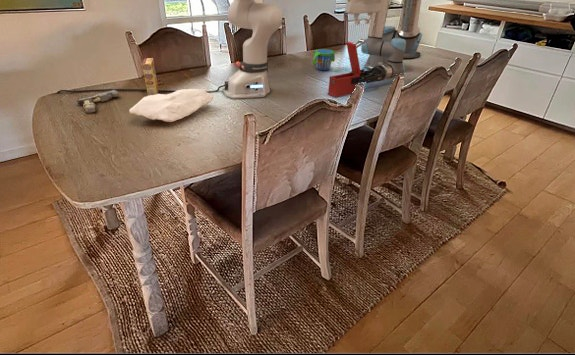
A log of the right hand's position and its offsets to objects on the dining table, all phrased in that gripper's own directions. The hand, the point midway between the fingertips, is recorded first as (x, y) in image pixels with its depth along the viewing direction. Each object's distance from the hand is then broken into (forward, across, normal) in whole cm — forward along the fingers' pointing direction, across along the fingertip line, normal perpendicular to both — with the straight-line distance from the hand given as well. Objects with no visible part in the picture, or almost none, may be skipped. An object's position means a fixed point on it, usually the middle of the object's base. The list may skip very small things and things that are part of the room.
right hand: (347, 79), depth 176 cm
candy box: (+81, +42, -6) cm, 92 cm away
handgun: (+104, +42, -6) cm, 112 cm away
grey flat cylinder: (-85, +44, -6) cm, 96 cm away
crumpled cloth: (+82, +16, -6) cm, 84 cm away
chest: (+2, 0, -6) cm, 7 cm away
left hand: (-5, 0, +25) cm, 25 cm away
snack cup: (-16, +36, -6) cm, 40 cm away
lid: (-2, 0, +10) cm, 10 cm away
